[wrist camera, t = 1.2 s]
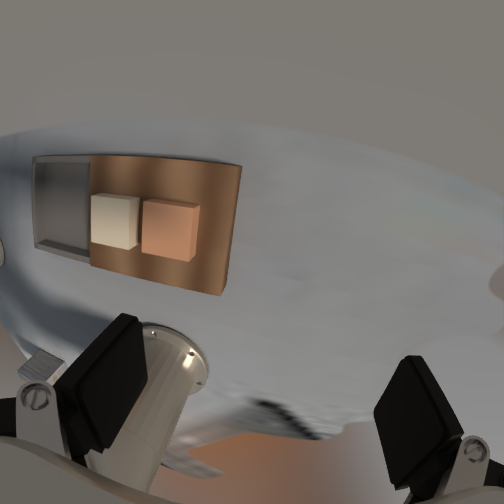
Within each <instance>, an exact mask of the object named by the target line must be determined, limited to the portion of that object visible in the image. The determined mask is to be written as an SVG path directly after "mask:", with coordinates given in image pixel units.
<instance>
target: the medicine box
mask: <svg viewBox="0 0 504 504" xmlns="http://www.w3.org/2000/svg"><path fill="white" fill-rule="evenodd" d="M66 370H67V366H66V363H65V362H64V361H62V360H60V359H58V358H56V357H54V356H52V355H50V354H48V353H46V352H44V351H42V350H41V349H40V350H39V351H38V352H36V353H35V354H34V355H33V356H32V357H31V358H30V359H29V360H28V361H27V362H26V363H25V364H24V365H22V366H21V367H20V368H19V369H18V373H19V376H20V378H21V380H22V382H23V384H25V383H27V382H29V381H32V380H42V381H45V382H48V383H49V384H50V385H52V386H53V385H54V384H55V382H56V381H57V380H58V379H59V378H60V376H61V375H62V374H63V373H64V372H65V371H66Z"/></svg>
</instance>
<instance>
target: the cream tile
mask: <svg viewBox="0 0 504 504" xmlns="http://www.w3.org/2000/svg"><path fill="white" fill-rule="evenodd" d="M139 205H140V197H133V196H124V195H116V194H107V193H100V194H96V195H92V196H91V242H94V243H98V244H103V245H107V246H112V247H117V248H121V249H126V250H130V249H131V248H133V247H135V246H136V245H138V227H139Z"/></svg>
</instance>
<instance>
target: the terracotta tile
mask: <svg viewBox="0 0 504 504" xmlns="http://www.w3.org/2000/svg"><path fill="white" fill-rule="evenodd" d="M199 211H200V205H197V204H190V203H183V202H176V201H168V200H161V199H149V200H146V201H143V219H142V252H143V253H148V254H153V255H157V256H162V257H167V258H172V259H177V260H182V261H187V262H189V261H190V260H191V259H192V258H193V257H194V256H195V253H196V242H197V231H198V221H199Z"/></svg>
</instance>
